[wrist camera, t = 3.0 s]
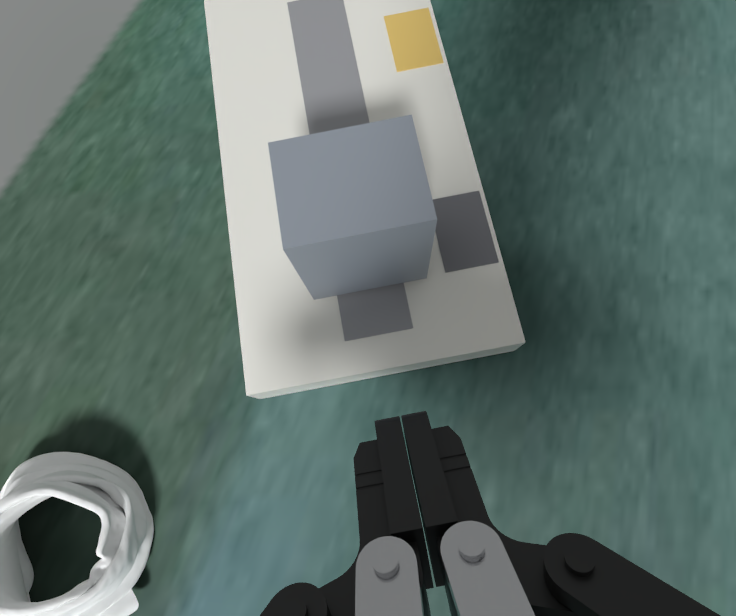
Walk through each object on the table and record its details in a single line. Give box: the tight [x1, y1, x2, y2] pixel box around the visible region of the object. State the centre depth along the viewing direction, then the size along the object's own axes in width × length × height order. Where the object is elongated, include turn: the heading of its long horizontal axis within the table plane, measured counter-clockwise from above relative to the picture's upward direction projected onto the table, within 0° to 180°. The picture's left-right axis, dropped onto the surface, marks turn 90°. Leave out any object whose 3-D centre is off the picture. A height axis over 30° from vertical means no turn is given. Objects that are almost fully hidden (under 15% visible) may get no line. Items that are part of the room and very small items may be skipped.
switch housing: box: [204, 0, 526, 399], centre depth 24 cm, size 12×22×2 cm, turn 10°
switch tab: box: [268, 115, 437, 300], centre depth 18 cm, size 5×4×6 cm
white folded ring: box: [0, 452, 154, 616], centre depth 19 cm, size 8×7×5 cm
